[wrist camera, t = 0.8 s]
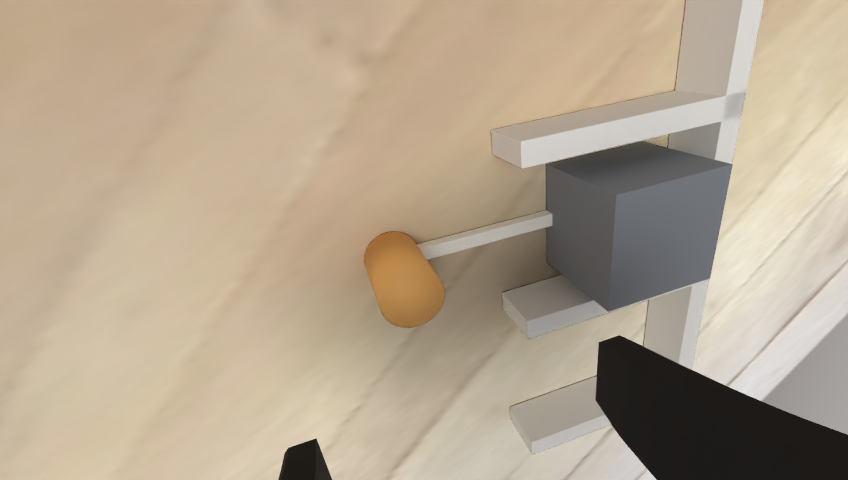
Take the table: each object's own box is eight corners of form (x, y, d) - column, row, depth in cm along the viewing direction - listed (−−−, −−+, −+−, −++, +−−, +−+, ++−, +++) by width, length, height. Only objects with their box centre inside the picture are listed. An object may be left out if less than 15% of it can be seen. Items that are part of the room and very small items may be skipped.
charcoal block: (632, 236, 21) (709, 278, 18) (376, 311, 19) (399, 380, 15) (642, 141, 19) (732, 164, 15) (351, 210, 17) (371, 260, 13)
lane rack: (653, 367, 26) (686, 395, 24) (510, 418, 24) (532, 454, 22) (725, -142, 15) (798, -174, 13) (473, -120, 13) (509, -154, 11)
